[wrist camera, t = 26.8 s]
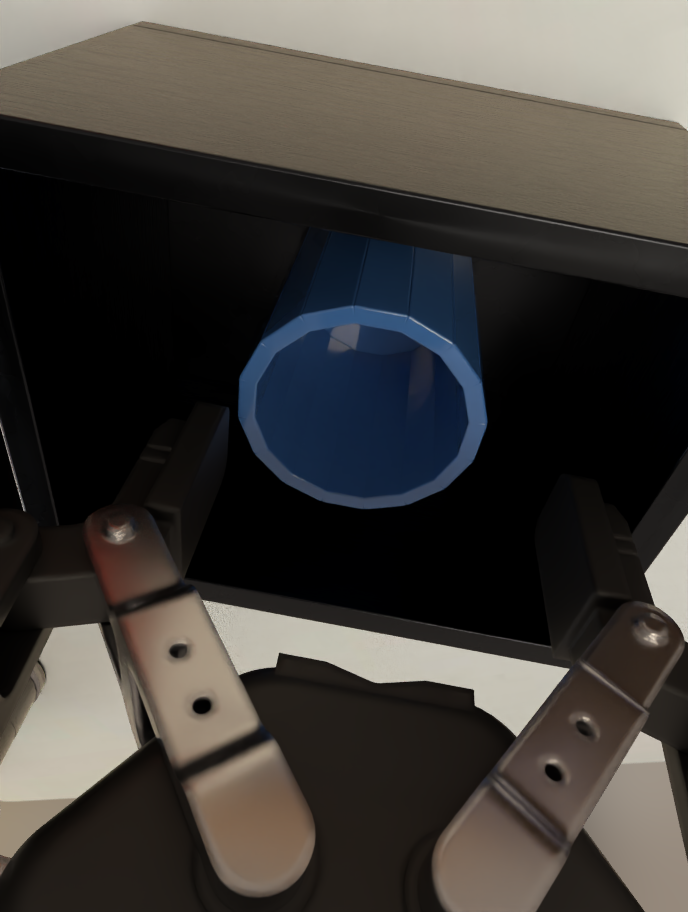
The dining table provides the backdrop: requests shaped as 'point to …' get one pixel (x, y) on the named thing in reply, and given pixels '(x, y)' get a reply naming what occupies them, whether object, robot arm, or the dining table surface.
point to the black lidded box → (261, 273)
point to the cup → (367, 372)
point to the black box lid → (7, 481)
